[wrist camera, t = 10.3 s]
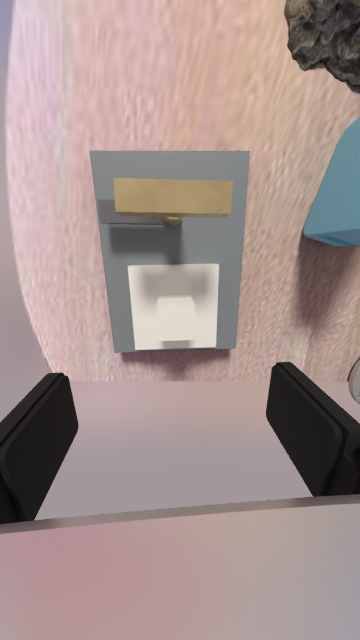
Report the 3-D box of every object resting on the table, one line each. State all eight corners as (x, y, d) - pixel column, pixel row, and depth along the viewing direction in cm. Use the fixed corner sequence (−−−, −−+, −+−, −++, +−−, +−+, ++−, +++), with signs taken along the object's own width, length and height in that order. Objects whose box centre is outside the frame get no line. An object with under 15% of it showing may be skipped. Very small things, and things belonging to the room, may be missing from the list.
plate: (229, 339, 31) (235, 348, 28) (119, 343, 30) (114, 352, 28) (240, 162, 24) (249, 150, 21) (99, 163, 24) (89, 150, 21)
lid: (213, 342, 28) (226, 368, 22) (137, 344, 27) (127, 372, 21) (216, 263, 25) (231, 267, 18) (130, 265, 24) (116, 270, 18)
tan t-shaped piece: (107, 225, 23) (71, 210, 14) (105, 205, 22) (66, 176, 14) (208, 227, 23) (230, 213, 15) (209, 207, 23) (233, 181, 14)
